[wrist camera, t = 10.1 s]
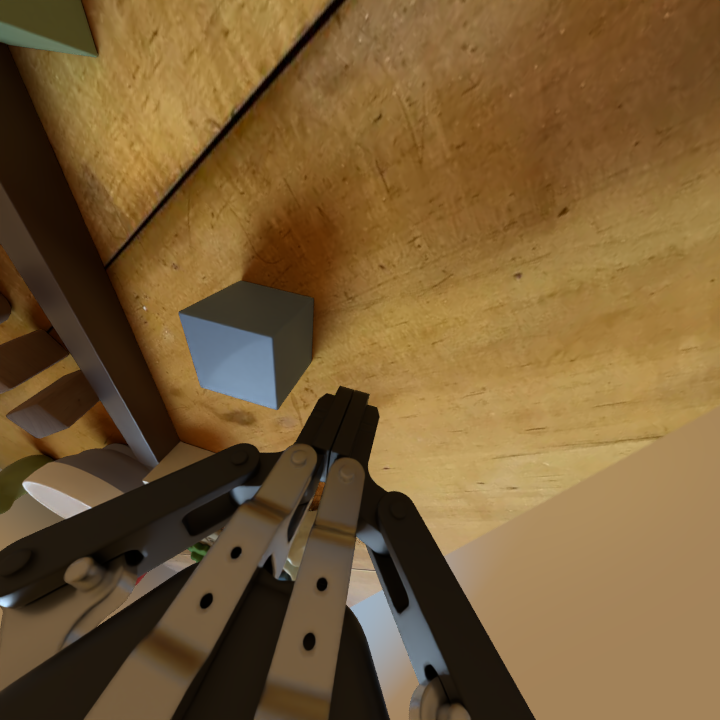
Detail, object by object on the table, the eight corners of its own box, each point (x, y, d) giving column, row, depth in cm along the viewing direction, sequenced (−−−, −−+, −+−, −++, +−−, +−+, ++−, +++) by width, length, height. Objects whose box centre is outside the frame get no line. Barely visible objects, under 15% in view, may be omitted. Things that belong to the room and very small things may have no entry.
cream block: (218, 453, 30) (184, 495, 26) (225, 476, 33) (196, 517, 29) (180, 441, 31) (141, 480, 27) (190, 464, 34) (157, 503, 30)
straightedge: (-94, -187, 9) (-280, -314, 7) (183, 448, 32) (162, 470, 29) (-156, -188, 10) (-353, -309, 7) (161, 441, 32) (139, 462, 30)
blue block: (314, 297, 16) (272, 336, 12) (311, 362, 19) (277, 410, 15) (240, 279, 17) (177, 311, 13) (249, 345, 20) (200, 387, 16)
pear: (29, 445, 46) (-58, 501, 38) (50, 451, 45) (-35, 510, 37) (51, 464, 49) (-25, 520, 41) (71, 470, 48) (-3, 529, 40)
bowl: (186, 503, 42) (144, 557, 36) (102, 463, 42) (45, 512, 36) (185, 461, 34) (129, 523, 27) (79, 410, 33) (-3, 462, 27)
